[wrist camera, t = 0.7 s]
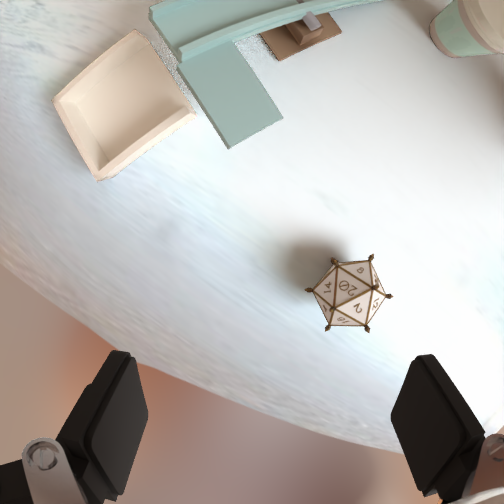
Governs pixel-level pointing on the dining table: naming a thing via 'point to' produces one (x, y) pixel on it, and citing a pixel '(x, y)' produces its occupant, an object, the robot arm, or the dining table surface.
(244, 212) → the dining table surface
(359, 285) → the game die
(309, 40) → the fulcrum
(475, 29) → the coffee cup
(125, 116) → the tray
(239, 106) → the lever
